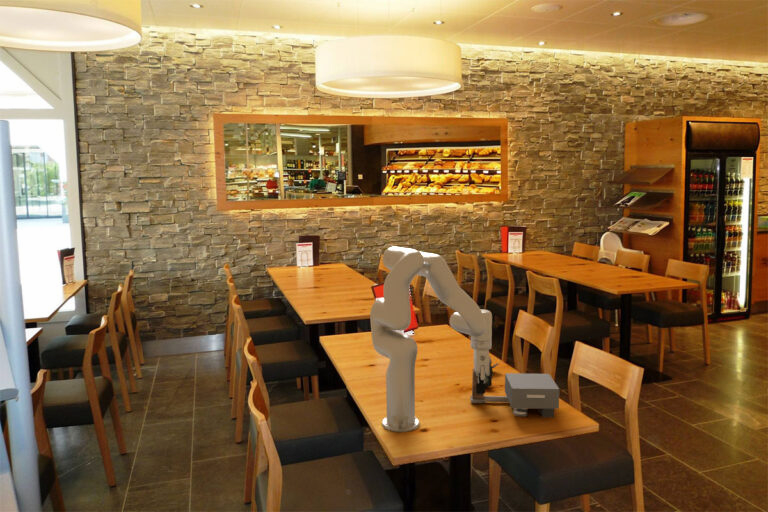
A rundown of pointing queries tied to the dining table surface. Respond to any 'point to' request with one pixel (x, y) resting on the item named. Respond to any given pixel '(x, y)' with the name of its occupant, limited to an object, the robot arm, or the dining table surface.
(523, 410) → the steel puck
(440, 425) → the dining table surface
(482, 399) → the scraper
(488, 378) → the artificial flower
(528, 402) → the charcoal cabinet
